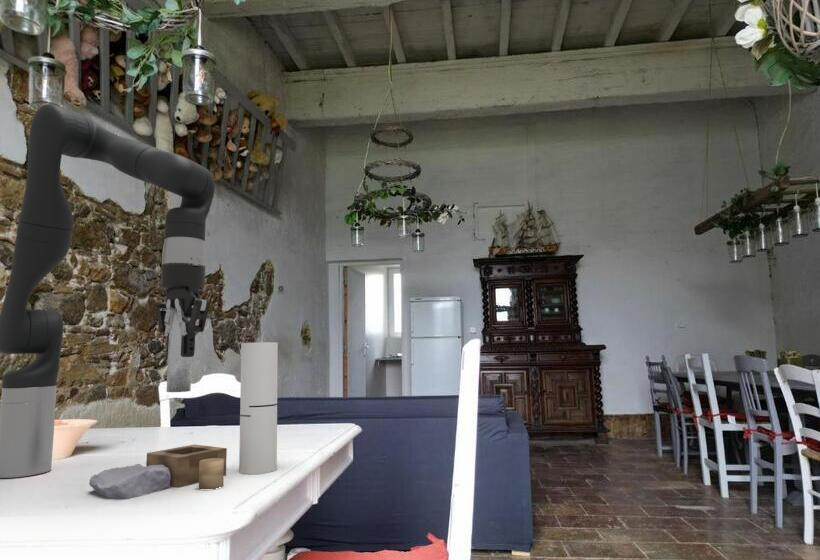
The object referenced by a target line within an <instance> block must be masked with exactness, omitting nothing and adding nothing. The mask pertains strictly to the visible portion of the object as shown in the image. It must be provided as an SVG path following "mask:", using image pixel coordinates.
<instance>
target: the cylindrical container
mask: <svg viewBox="0 0 820 560" xmlns="http://www.w3.org/2000/svg"><path fill="white" fill-rule="evenodd" d="M240 344H241V346H240V347H241V348H240V400H239V403H240V404H239V406H240V407H239V412H240V413H239V415H240V416H239V456H238V457H239V458H238V459H239V460H238V464H239V465H238V468H239V469H238V473H239V474H243V475H262V474H261V473H263V474H267V472H268V473H272V472H275V471H276V470H277V469H278V466H277V465H278V462H277V461H278V366H279V365H278V363H279V362H278V360H279V358H278V357H279V356H278V355H279V354H278V351H279V350H278V349H279V346H278V345H279V343H278V342H276V341H275V342H273V341H271V342H268V341H267V342H266V341H265V342H263V341H262V342H257V341H256V342H241V343H240ZM271 471H272V472H271Z"/></svg>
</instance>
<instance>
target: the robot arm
mask: <svg viewBox="0 0 820 560" xmlns="http://www.w3.org/2000/svg"><path fill="white" fill-rule="evenodd" d="M28 139H29V140H28V141H29V142H28V155H27V170H26V171H27V173H26V181H25V187H24V188H25V189H24V195H23V200H22V205H21V210H20V215H19V219H18V220H19V221H18V225H17V231H16V236H15V244H14V250H13V251H14V252H13V257H12V264H11V270H10V275H9V281H8V284H7V288H6V292H5V295H4V299H3V304H2V306H1V307H2V308H1V310H0V352H1V353H2V354H7V355H8V354H9V355H15V354H17V355H18V354H19V355H20V354H22V355H25V354H27V355H28V354H29V355H32V354H36V358H35V359H34V361H33V362H31V363H30V364H28V365H26V366H24V367H22V368H19V369H16V370H12V371H9V372H7V373H5V374H4V375H3V377H2V383H1V397H0V399H1V400H0V478H1V479H2V478H3V479H9V478H10V479H11V478H22V477H29V476H34V475H40V474H45V473H48V472H50V471H51V470H52V462H53V450H54V437H55V436H54V435H55V433H54V432H55V421H56V420H55V419H56V417H55V416H56V403H57V402H56V401H57V384H58V376H59V372H60V371H59V370H60V363H61V353H62V352H61V351H62V345H63V338H64V320H63V316H62V314H60V312H59V311H57V310H54V309H53V310H51V309H33V308H32V309H30V308H29V309H27V306H28V303H29V300H30V298H31V296H32V294H33V293H34V291H35V289H36V288H37V287H38V285H39V284H40V283H41V282H42V281H43V280H44V279H45V277H47V275H49V274H50V273H51V272H52V271H53V270H54V269H55V268H56V267H57V266H58V265H59V264H60V263H61V262H62V261H63V259H65V258H66V256H67V254H68V253H69V250H70V245H71V240H72V236H73V229H74V216H73V212H72V210H71V206H70V204H69V202H68V199H67V197H66V194H65V192H64V189H63V186H62V182H61V162H62V156H66V157H71V158H78V159H87V160H91V161H97V162H102V163H106V164H109V165H111V166H113V168H115V169H116V170H118V171H119V172H121V173H123V174H125V175H127V176H130V177H132V178H134V179H136V180H139V181H141V182H144V183H147V184H151V185H154V186H156V187H159V188H161V189H163V190H165V191H167V192H169V193H173V194H174V195H177V196H179V197H181V202H180V205H179V207H178V206H177V207H173V208H170V209H169V210H168V211H167V213H166V215H165V223H164V242H163V248H162V257H161V275H160V287H161V289H163V290H166V291H167V294H166V297H165V301H164V302H163V303H162V302H161V303H160V302H157V303H156V305H155V309H156V316H157V322H158V330H159V333H160V334H164V336H165V337H166V351H165V352H166V353H165V354H166V357H167V358H168V347H169V325H170V308H176V309H177V315H178V322H179V323H180V324H181V328H182V335H183V336H182V339H181V356H182V357H192V358H193V357H194V356H195V352H196V351H195V349H196V348H195V347H196V345H195V344H196V336H198V334H199V333H203V332H204V331H205V326H206V322H207V318H208V313H209V310H210V306H211V301H210V300H207V299H202V298H201V295H200V291H203V290H204V289H205V287H206V286H205V285H206V260H207V253H206V252H207V250H206V221H207V218H208V215H209V213H210V209H211V205H212V202H213V199H214V195H215V190H216V184H215V178H214V176H213V174H212V172H211V171H210V170H209V169H208V168H207V167H204V166H203V165H200V164H199V163H196V162H195V161H194V160H191V159H189V158H187V157H185V156H182V155H179V154H178V153H174V152H169V151H165V150H162V149H159V148H157V147H154V146H152V145H150V144H148V143H144V142H142V141H138V140H134V139H131V138H128V137H124V136H121V135H118V134H115V133H113V132H112V131H110V130H108V129H107V128H106V127H103V126H102V125H101V124H99V123H98V122H96V121H95V120H93V119H92V118H89V117H88V116H86V115H83V114H82V113H79V112H75V111H73V110H70V109H67V108H66V107H63V106H60V105H56V104H53V103H46V104H43V105H41V106H39V107H38V109H37V110H36V112H35V113H34V115H33V117H32V121H31V124H30V130H29V138H28ZM186 317H191V318H186ZM187 323H189V326H188V325H187ZM165 324H166V325H165Z"/></svg>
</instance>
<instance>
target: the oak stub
mask: <svg viewBox="0 0 820 560" xmlns="http://www.w3.org/2000/svg"><path fill="white" fill-rule="evenodd" d="M224 477H225V476H224V459H223V458H210V459H204V460H201V461H199V482H198V490H200V489H213V490H217V489H216V488H218V489H220V488H219V487H221V488H223V487H224ZM222 486H223V487H222Z"/></svg>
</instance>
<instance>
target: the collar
mask: <svg viewBox="0 0 820 560" xmlns="http://www.w3.org/2000/svg"><path fill="white" fill-rule="evenodd" d="M227 457H228V454H227V447H219V446H211V445H202V444H191V445H190V444H189V445H183V446H178V447H172V448H167V449H162V450H157V451H156V450H155V451H152V452H151V451H150V452H147V453H146V464H145V467H146V466H150V465H164V466H165V467H167V468H169V472H170V476H171V479H170V487H173V486H174V487H175V488H182V487H186V486H189V484H190V485H193V483H194V484H197V482H198V483H199V461H201V460H204V459H210V458H223V459H224V476H223V477H225V476H227ZM185 485H186V486H185ZM181 486H182V487H181Z"/></svg>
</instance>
